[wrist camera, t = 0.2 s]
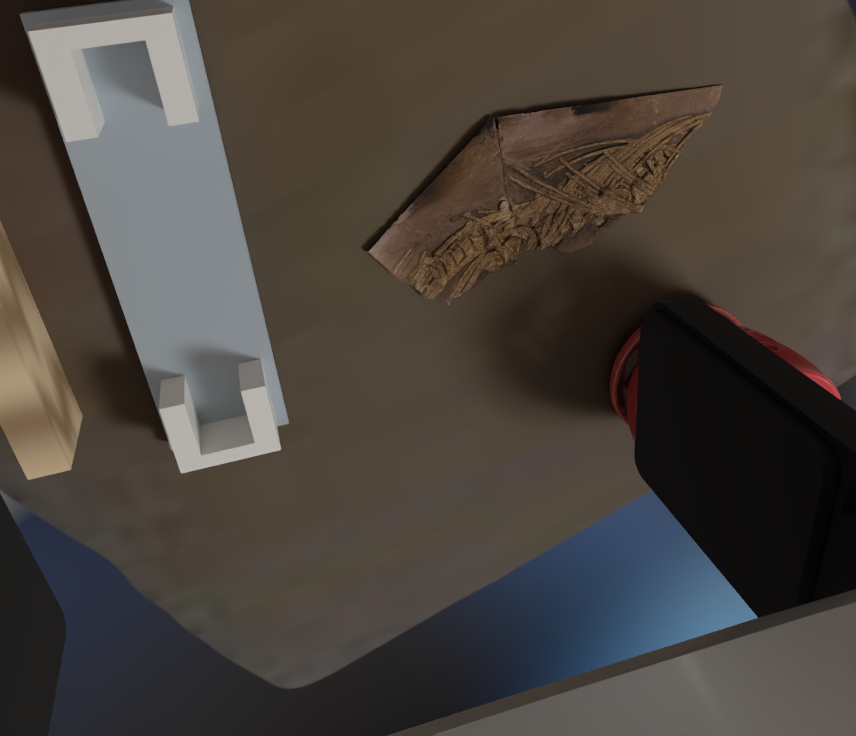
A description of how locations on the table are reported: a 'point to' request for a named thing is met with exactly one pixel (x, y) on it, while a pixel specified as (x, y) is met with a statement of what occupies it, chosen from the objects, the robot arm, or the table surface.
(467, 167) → the wooden fragment
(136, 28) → the endcap board
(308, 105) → the table surface
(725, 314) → the plant pot
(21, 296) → the slat
